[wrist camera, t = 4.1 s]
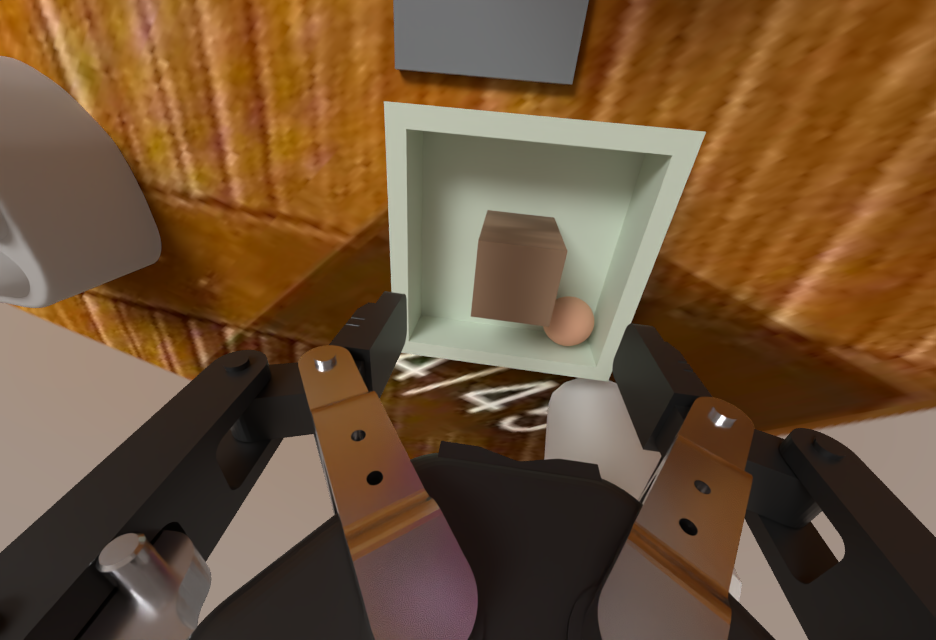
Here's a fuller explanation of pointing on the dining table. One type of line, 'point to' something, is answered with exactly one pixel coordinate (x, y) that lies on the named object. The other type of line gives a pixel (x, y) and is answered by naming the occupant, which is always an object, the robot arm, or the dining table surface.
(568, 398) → the foam cup
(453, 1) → the pad
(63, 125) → the lumpy-topped squat cylinder
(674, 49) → the dining table surface
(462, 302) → the bin
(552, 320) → the ball
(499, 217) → the block
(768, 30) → the dining table surface
